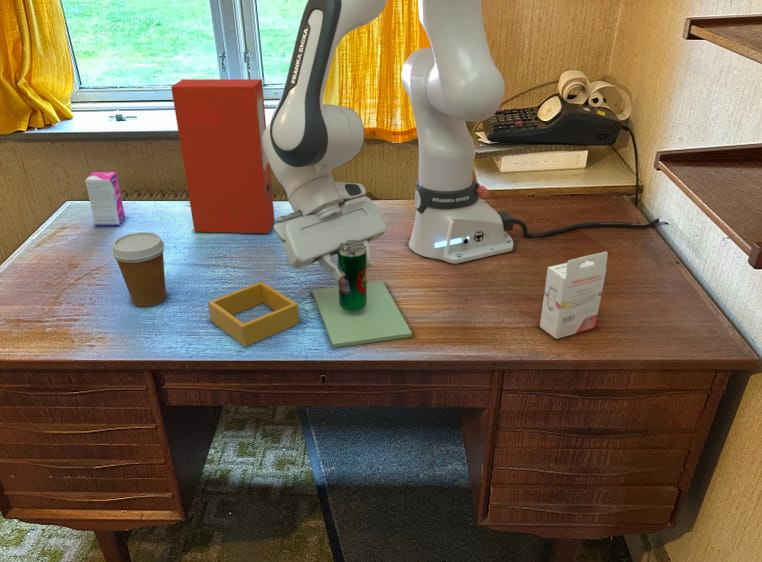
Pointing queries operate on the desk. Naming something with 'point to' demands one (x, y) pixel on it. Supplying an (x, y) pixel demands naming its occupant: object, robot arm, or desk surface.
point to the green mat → (361, 317)
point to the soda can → (353, 275)
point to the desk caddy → (259, 327)
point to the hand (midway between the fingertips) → (355, 273)
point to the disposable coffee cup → (142, 266)
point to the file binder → (225, 154)
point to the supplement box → (105, 199)
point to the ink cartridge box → (573, 295)
